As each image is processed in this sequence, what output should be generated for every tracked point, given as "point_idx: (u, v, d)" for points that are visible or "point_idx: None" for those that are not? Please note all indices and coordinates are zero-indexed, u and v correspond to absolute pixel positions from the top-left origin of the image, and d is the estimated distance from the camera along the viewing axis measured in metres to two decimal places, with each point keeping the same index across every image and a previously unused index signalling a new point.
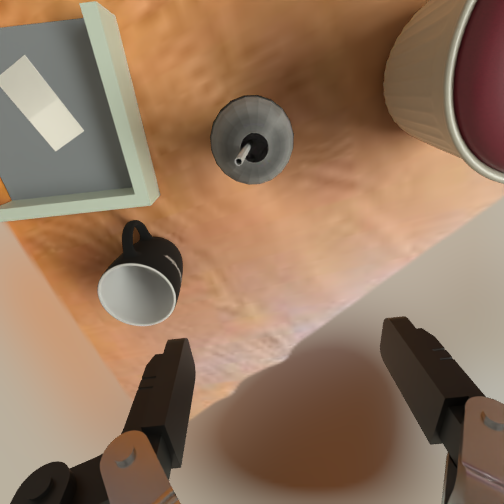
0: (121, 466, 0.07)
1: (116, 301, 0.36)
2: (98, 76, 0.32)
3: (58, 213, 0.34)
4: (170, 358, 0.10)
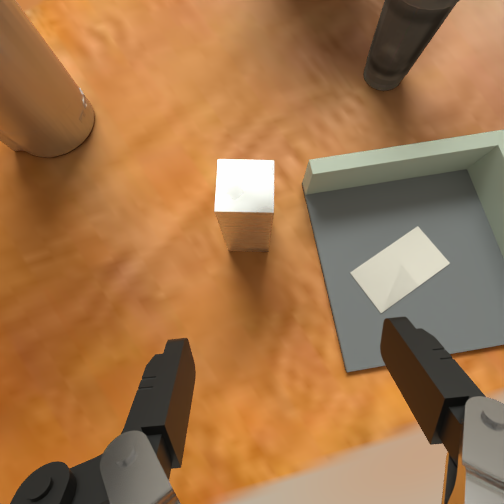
0: (121, 466, 0.07)
1: None
2: (357, 202, 0.30)
3: None
4: (170, 358, 0.10)
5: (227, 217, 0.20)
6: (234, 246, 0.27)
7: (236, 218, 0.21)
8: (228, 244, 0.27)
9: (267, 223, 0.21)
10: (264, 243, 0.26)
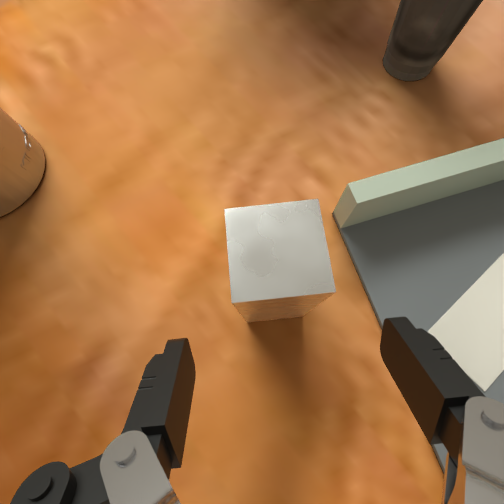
0: (121, 466, 0.07)
1: None
2: (414, 230, 0.22)
3: None
4: (170, 358, 0.10)
5: (253, 304, 0.12)
6: (256, 319, 0.19)
7: (268, 303, 0.12)
8: (248, 319, 0.18)
9: (317, 300, 0.13)
10: (301, 312, 0.18)
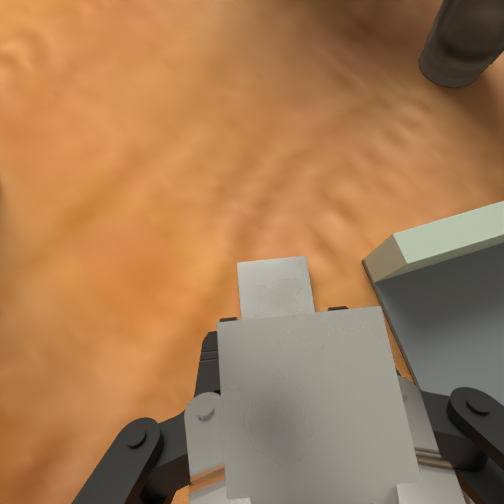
0: (205, 420, 0.08)
1: None
2: (471, 287, 0.16)
3: None
4: None
5: None
6: None
7: None
8: None
9: None
10: None
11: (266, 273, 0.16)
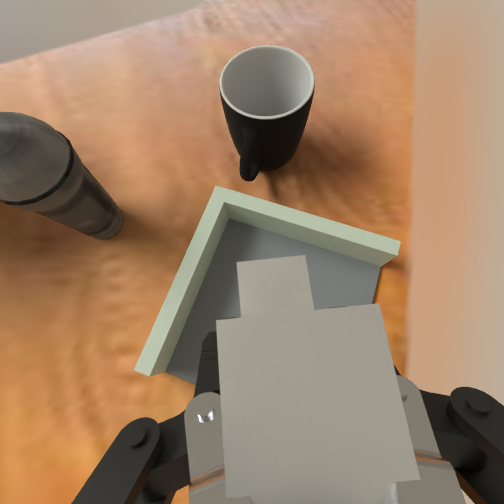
0: (205, 421, 0.08)
1: (307, 93, 0.28)
2: (202, 328, 0.30)
3: (318, 219, 0.28)
4: None
5: None
6: None
7: None
8: None
9: None
10: None
11: (266, 272, 0.16)
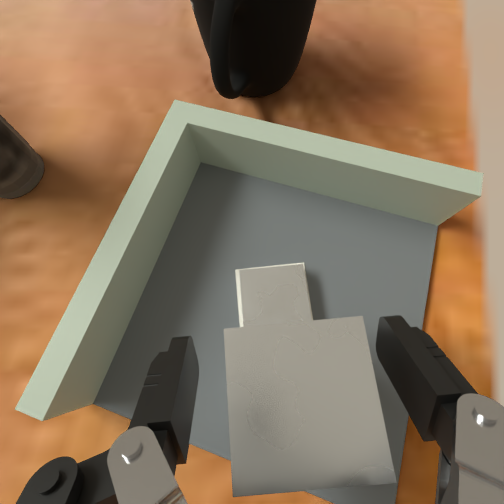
0: (128, 461, 0.07)
1: None
2: (156, 329, 0.18)
3: (342, 143, 0.17)
4: (175, 355, 0.10)
5: None
6: None
7: None
8: None
9: None
10: None
11: (266, 280, 0.18)
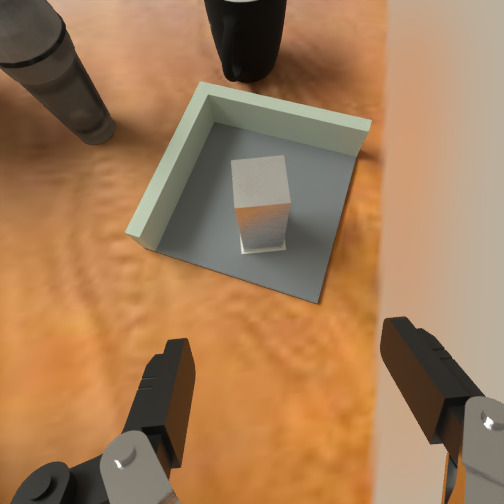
0: (121, 466, 0.07)
1: None
2: (189, 213, 0.32)
3: (296, 105, 0.30)
4: (170, 358, 0.10)
5: (246, 213, 0.21)
6: (250, 245, 0.28)
7: (254, 213, 0.21)
8: (244, 244, 0.28)
9: (284, 215, 0.22)
10: (279, 238, 0.27)
11: None
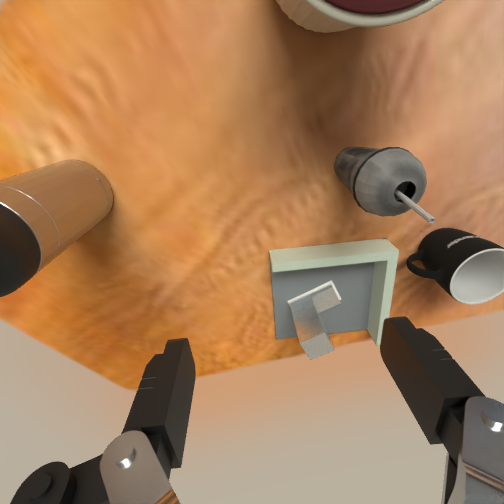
0: (121, 466, 0.07)
1: (477, 291, 0.42)
2: None
3: (388, 309, 0.48)
4: (170, 358, 0.10)
5: None
6: None
7: None
8: None
9: None
10: None
11: (331, 295, 0.49)
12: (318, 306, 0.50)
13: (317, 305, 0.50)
